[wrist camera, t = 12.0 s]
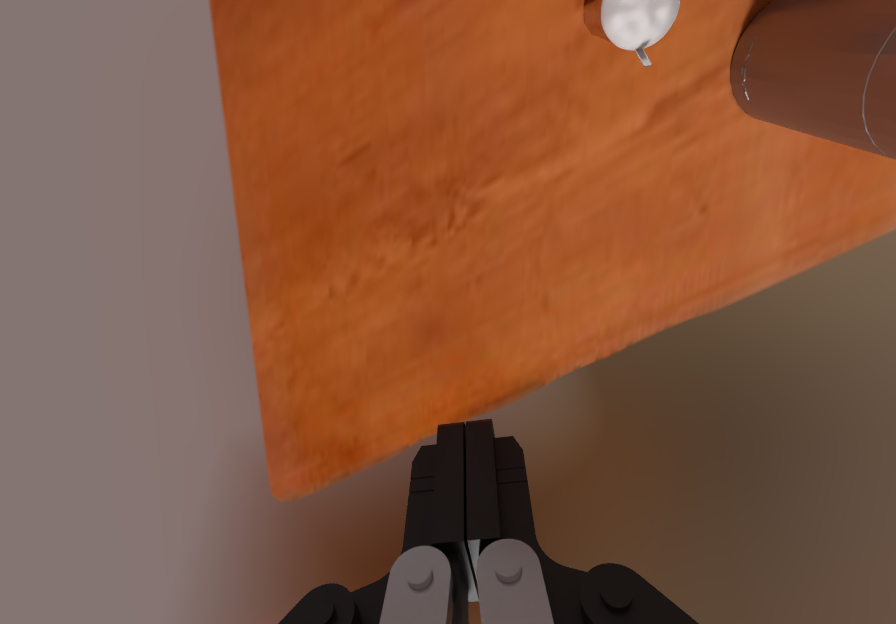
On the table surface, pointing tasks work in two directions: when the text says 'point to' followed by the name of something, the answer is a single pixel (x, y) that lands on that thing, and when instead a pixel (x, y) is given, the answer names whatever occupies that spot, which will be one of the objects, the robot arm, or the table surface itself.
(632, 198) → the table surface
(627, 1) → the milkshake
